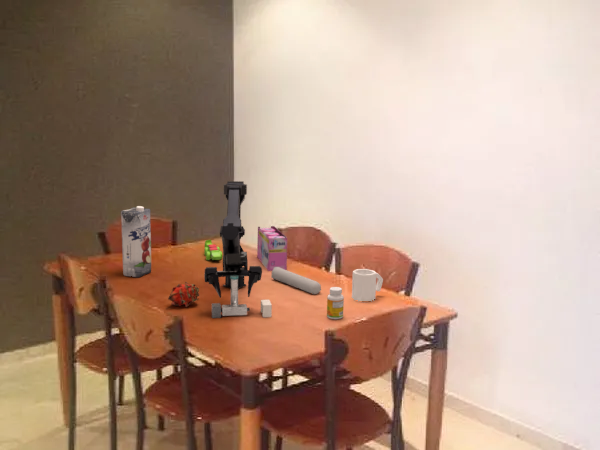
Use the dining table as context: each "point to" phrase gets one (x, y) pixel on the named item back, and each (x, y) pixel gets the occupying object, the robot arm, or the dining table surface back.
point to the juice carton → (136, 241)
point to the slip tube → (234, 300)
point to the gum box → (272, 248)
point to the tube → (296, 280)
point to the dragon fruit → (184, 294)
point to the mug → (365, 284)
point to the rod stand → (218, 310)
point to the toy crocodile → (212, 251)
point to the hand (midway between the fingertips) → (234, 296)
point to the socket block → (266, 308)
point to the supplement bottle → (335, 303)
